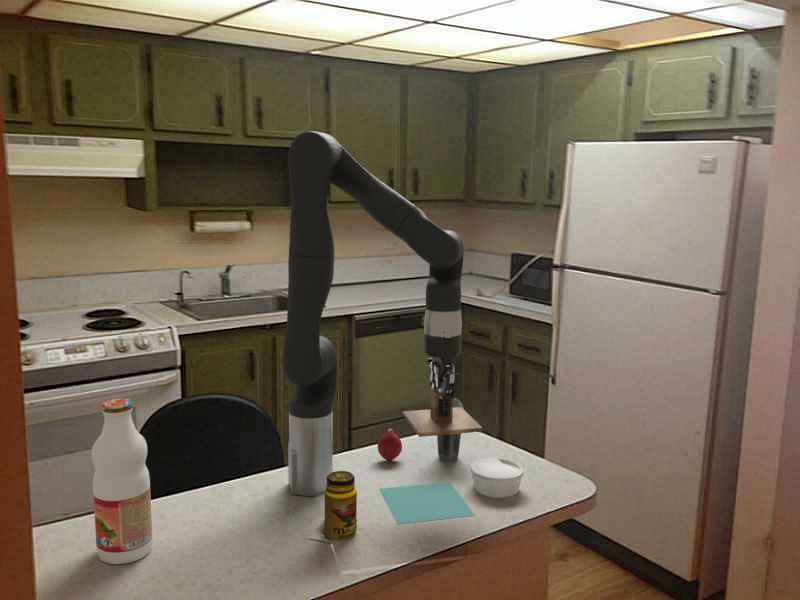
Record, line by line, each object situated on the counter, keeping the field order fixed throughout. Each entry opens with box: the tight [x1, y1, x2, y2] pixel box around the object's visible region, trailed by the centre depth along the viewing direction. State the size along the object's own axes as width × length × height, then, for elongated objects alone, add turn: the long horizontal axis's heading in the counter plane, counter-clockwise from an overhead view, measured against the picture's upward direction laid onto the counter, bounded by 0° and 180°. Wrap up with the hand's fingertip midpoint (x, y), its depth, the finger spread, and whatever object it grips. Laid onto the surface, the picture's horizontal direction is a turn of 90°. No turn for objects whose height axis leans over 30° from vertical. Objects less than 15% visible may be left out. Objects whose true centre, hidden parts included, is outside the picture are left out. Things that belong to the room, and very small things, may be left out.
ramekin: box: [470, 457, 524, 499], centre depth 156 cm, size 11×11×5 cm
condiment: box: [307, 470, 358, 544], centre depth 135 cm, size 7×8×12 cm
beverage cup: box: [436, 397, 465, 462], centre depth 170 cm, size 7×7×20 cm
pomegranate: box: [377, 428, 403, 462], centre depth 170 cm, size 6×6×8 cm
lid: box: [402, 388, 483, 438], centre depth 146 cm, size 13×13×7 cm
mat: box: [378, 481, 476, 525], centre depth 149 cm, size 16×16×1 cm
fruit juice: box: [91, 398, 154, 565], centre depth 126 cm, size 9×9×28 cm
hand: (441, 412), depth 146 cm, fingers closed on lid, 3 cm apart
